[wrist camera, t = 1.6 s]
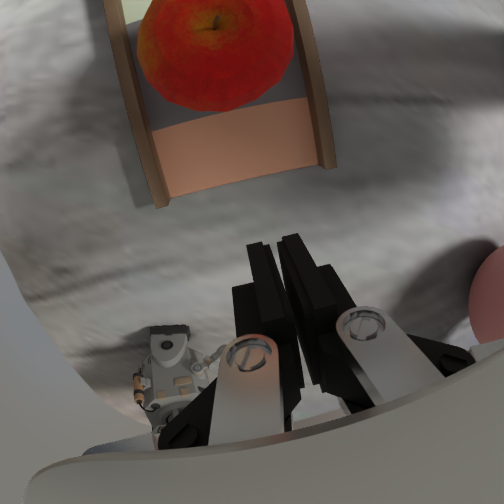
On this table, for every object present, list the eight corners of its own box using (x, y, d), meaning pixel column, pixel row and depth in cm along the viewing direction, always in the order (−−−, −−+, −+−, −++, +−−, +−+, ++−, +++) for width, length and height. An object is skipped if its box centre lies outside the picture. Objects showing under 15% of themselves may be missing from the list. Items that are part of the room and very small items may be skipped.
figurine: (244, 372, 37) (258, 480, 24) (155, 376, 37) (143, 481, 23) (241, 318, 33) (257, 442, 20) (137, 323, 32) (110, 442, 19)
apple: (190, -10, 18) (172, -80, 7) (291, 30, 20) (348, -14, 10) (141, 86, 21) (81, 80, 11) (242, 125, 24) (263, 146, 13)
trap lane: (256, -118, 12) (259, -129, 10) (328, 162, 26) (336, 167, 24) (99, -84, 12) (92, -93, 10) (160, 200, 26) (156, 208, 24)
